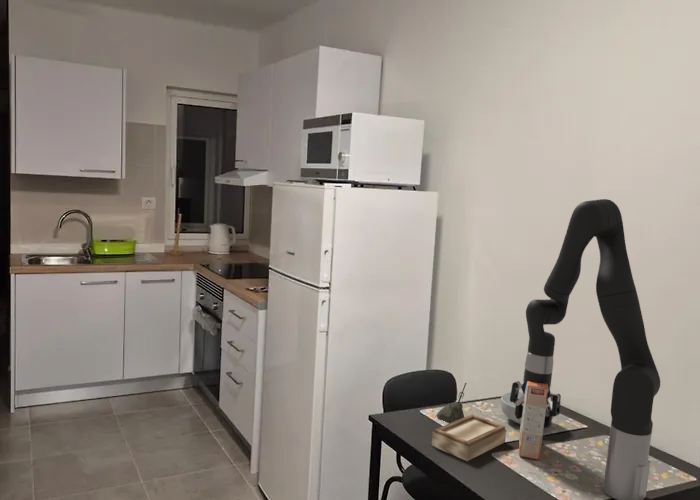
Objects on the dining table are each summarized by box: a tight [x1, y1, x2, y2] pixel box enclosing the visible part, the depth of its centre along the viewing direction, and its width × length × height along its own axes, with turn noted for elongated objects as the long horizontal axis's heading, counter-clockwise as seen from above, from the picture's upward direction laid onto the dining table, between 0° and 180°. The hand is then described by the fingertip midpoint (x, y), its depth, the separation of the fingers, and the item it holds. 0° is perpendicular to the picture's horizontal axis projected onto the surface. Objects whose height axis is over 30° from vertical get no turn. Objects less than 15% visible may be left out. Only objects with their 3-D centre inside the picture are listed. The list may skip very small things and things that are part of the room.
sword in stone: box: [436, 382, 467, 424], centre depth 195 cm, size 10×8×12 cm
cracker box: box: [518, 381, 548, 461], centre depth 175 cm, size 14×6×21 cm, turn 164°
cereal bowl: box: [500, 391, 554, 426], centre depth 197 cm, size 17×17×7 cm
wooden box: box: [431, 413, 507, 462], centre depth 177 cm, size 12×20×5 cm, turn 136°
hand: (532, 422), depth 176 cm, fingers open, 8 cm apart
